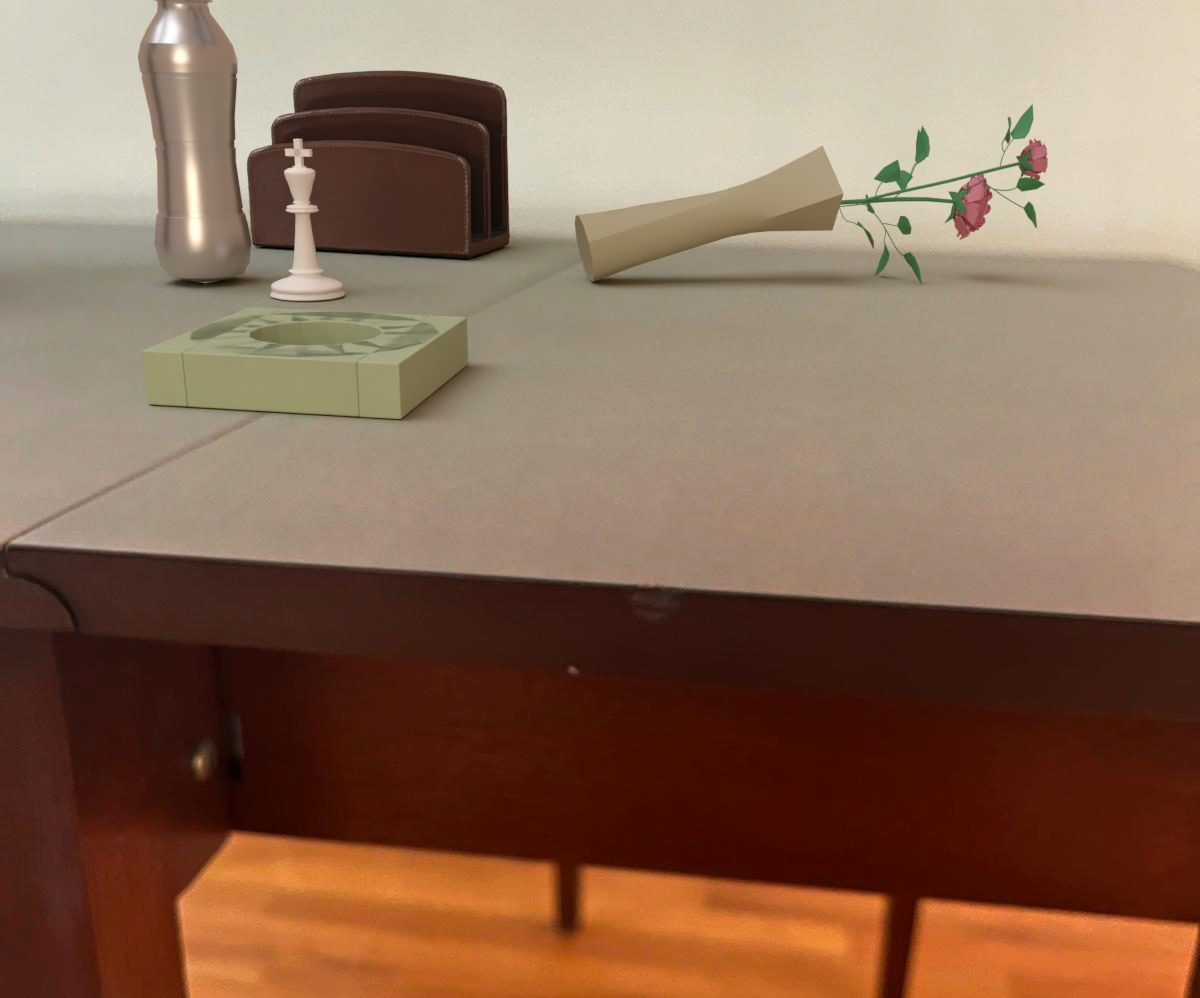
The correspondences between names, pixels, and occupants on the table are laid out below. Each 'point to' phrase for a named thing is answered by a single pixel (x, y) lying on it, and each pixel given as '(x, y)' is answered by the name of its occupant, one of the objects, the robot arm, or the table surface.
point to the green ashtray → (308, 362)
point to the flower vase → (785, 208)
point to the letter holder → (389, 165)
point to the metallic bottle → (194, 143)
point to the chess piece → (304, 239)
